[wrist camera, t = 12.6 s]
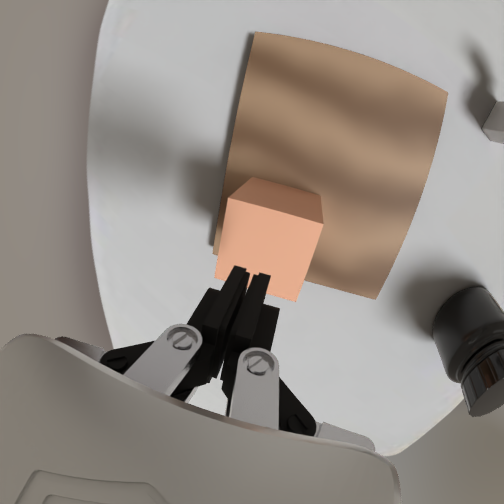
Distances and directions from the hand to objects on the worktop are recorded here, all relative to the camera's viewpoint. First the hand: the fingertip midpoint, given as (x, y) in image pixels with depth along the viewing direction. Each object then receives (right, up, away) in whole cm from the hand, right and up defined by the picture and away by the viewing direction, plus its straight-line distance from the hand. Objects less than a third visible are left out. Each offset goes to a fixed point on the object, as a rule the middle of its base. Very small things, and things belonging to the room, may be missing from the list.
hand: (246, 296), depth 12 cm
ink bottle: (+25, -5, +11) cm, 28 cm away
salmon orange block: (+2, +5, +10) cm, 11 cm away
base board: (+6, +9, +8) cm, 14 cm away
